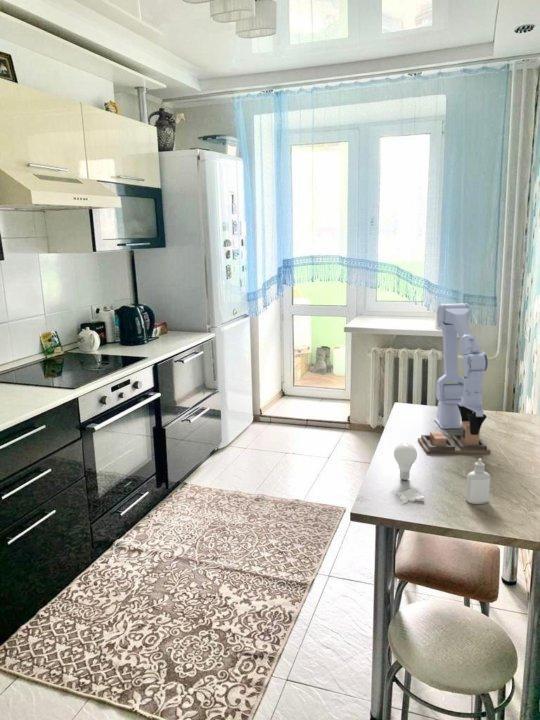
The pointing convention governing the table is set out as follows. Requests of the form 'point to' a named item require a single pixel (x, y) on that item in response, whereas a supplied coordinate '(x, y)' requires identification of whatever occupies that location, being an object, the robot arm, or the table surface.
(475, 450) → the brown flat tray
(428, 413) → the table surface
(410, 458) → the lightbulb
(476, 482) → the eye dropper bottle
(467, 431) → the pinkish brown block
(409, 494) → the acanthus leaf ornament
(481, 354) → the robot arm
